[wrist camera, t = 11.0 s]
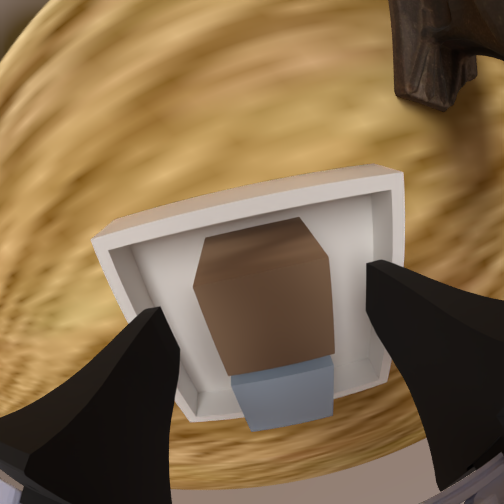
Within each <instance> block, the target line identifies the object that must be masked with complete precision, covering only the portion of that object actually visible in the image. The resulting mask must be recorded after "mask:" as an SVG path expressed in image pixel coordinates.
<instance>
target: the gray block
mask: <svg viewBox="0 0 504 504" xmlns="http://www.w3.org/2000/svg"><path fill="white" fill-rule="evenodd" d="M231 387H232V389H233V392H234V394H235V396H236V399H237V401H238V403H239V405H240V408H241V410H242V412H243V414H244V417H245V419H246V421H247V423H248V425H249V428H250V430H251V432H253V431H261V430H267V429H273V428H279V427H285V426H290V425H295V424H300V423H304V422H309V421H313V420H317V419H321V418H325V417H329V416H333V396H334V364H333V361H332V359H331V356H330V355H328V356H324V357H320V358H316V359H312V360H308V361H304V362H300V363H295V364H291V365H286V366H282V367H277V368H272V369H267V370H262V371H257V372H251V373H245V374H239V375H233V376H231Z"/></svg>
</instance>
